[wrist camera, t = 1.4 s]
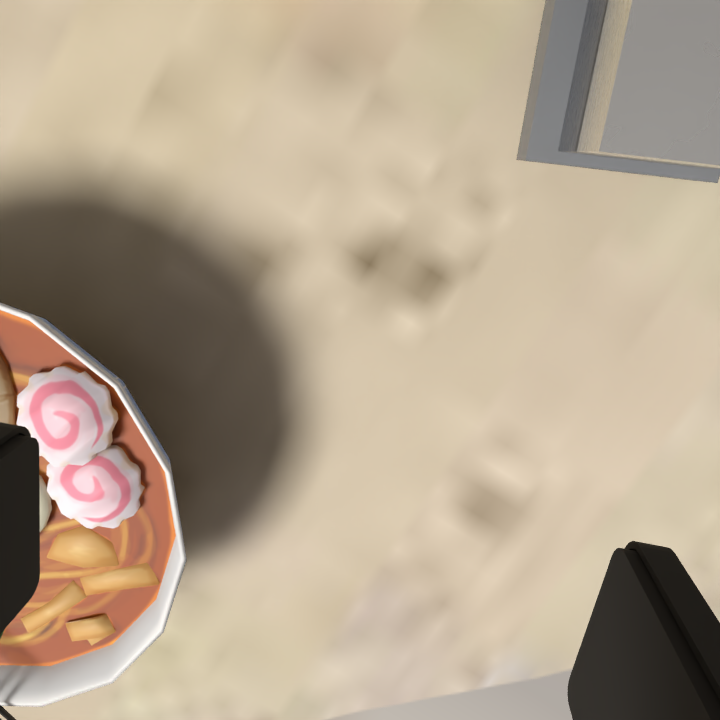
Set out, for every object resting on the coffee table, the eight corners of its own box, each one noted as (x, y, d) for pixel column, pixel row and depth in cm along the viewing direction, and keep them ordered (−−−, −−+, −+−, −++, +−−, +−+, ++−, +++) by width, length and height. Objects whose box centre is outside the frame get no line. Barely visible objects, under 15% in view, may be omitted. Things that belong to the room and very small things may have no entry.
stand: (552, -40, 26) (566, -58, 24) (746, -19, 26) (779, -37, 24) (516, 159, 29) (525, 160, 27) (692, 180, 29) (717, 182, 26)
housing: (596, -40, 24) (655, -102, 18) (742, -25, 24) (849, -83, 18) (557, 151, 26) (598, 151, 20) (690, 167, 26) (771, 171, 20)
